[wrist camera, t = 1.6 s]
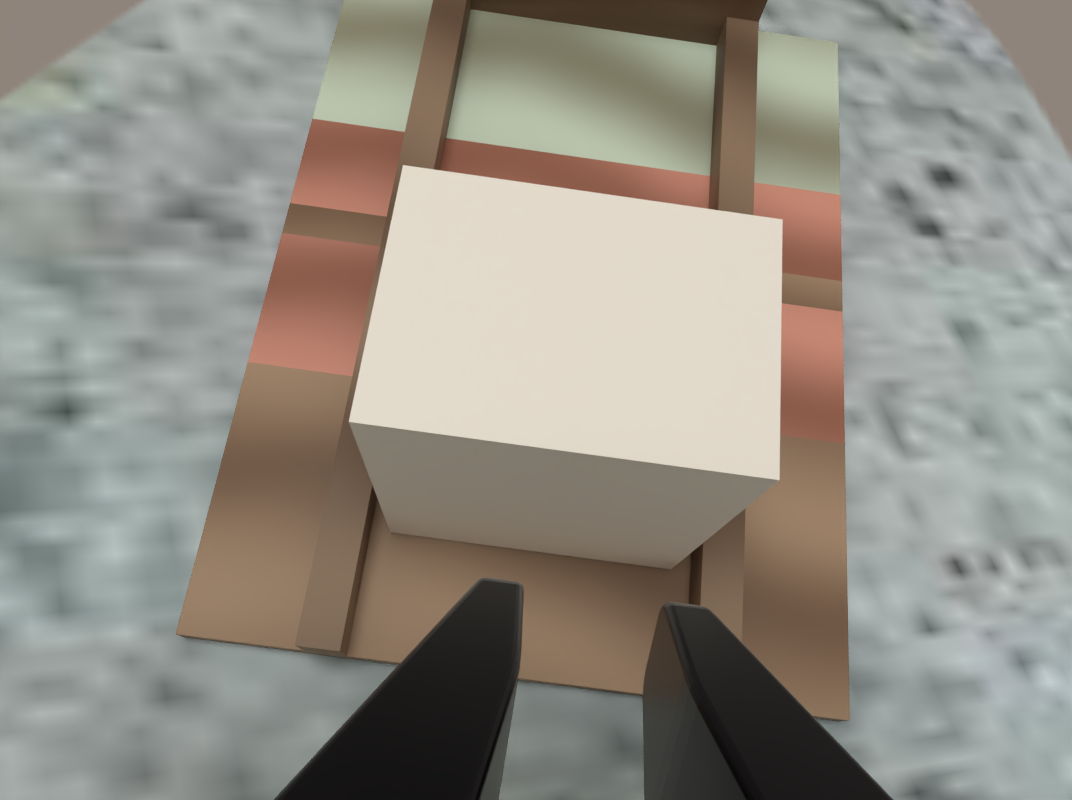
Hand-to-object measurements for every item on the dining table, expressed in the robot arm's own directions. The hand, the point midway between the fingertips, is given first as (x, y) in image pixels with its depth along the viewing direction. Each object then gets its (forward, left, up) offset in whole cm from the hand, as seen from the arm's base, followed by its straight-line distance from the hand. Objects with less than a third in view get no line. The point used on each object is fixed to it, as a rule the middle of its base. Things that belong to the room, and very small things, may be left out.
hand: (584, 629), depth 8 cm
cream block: (+3, -5, -13) cm, 14 cm away
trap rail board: (+6, -9, -14) cm, 17 cm away
